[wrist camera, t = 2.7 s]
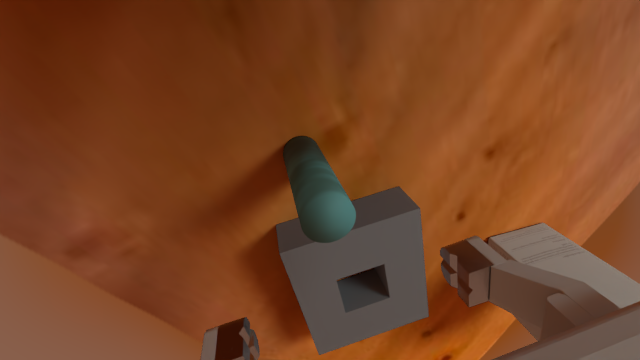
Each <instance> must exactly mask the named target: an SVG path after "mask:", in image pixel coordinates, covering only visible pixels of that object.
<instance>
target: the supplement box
mask: <svg viewBox="0 0 640 360" xmlns="http://www.w3.org/2000/svg"><path fill="white" fill-rule="evenodd" d="M488 245H489V246H490V247H491V248H492V249H494V250H495V251H496V252H497V253H498V254H500V255H501V256H502V257H503V258H504V259H506V260H514V261H517V262H520V263H523V264H527V265H530V266H533V267H536V268H540V269H543V270H546V271H550V272H553V273H556V274H559V275H563V276H566V277H569V278H572V279H576V280H579V281H582V282H585V283H586V284H587V285H589V286H590V287H592V288H593V289H594V290H596V291H597V292H599V293H600V294H601V295H603V296H604V297H606V298H607V299H608V300H610V301H611V302H613V303H614V304H615V305H617V306H618V307H620V308H623V307H626V306H628V305H631V304H633V303H636V302H639V301H640V284H639V283H637V282H636V281H634V280H632V279H631V278H629V277H628V276H626V275H625V274H623V273H621V272H620V271H618V270H617V269H615V268H614V267H612V266H610V265H609V264H607V263H606V262H604V261H603V260H601V259H599V258H598V257H596V256H595V255H593V254H591V253H590V252H588V251H587V250H585V249H583V248H582V247H580V246H579V245H577V244H576V243H574V242H573V241H571V240H569V239H568V238H566V237H565V236H563V235H562V234H560V233H558V232H557V231H555V230H554V229H552V228H551V227H549V226H547V225H546V224H544V223H540V224H537V225H533V226H530V227H526V228H522V229H519V230H515V231H512V232H508V233H504V234H500V235H497V236H493V237H490V238H489V240H488ZM513 315H514V314H513ZM514 316H515V317H516V318H517V320H518V321H519V322H520V323H521V324H522V325H523V326H524V327H525V328H526V329H527V330H528V331H529V332H530V333H531V334H532V335H533V336H534V337H535V338H536V340H537V341H540V336H541V330H542V329H541V328H539V327H537V326H536V325H534V324H532V323H530V322H528V321H526V320H524V319H522V318H520V317H518V316H516V315H514Z"/></svg>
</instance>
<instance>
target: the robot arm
mask: <svg viewBox="0 0 640 360" xmlns="http://www.w3.org/2000/svg"><path fill="white" fill-rule="evenodd" d="M440 255H441V257H442V258H443V261H442V262H441V269H442V272H443V275H444V277H445V279H446V280H447V282H448V283H449V284H450V285H451V286H453V287H455V288H457V289H458V295H459V296H460V297H461V299H462V300H463V301H464V302H465V303H466V304H467V306H468V307H472V306H475V305H478V304H480V303H483V302H486V301H489V302H491V303H493V304H495V305H497V306H499V307H501V308H503V309H505V310H506V311H508V312H510V313H512V314H514V315H516V316H518V317H520V318H522V319H524V320H526V321H528V322H530V323H532V324H534V325H536V326H537V327H539V328H541V329H542V330H541V336H540V341H538V342H535V343H533V344H530V345H528V346H525V347H523V348H520V349H517V350H515V351H512V352H510V353H507V354H505V355H502V356H500V357H497V358H495V359H492V360H640V301H639V302H636V303H633V304H631V305H628V306H626V307H623V308H620V307H618V306H617V305H615V304H614V303H613V302H611V301H610V300H608V299H607V298H606V297H604V296H603V295H601V294H600V293H599V292H597V291H596V290H594V289H593V288H592V287H590V286H589V285H587V284H586V283H585V282H582V281H579V280H576V279H572V278H569V277H566V276H563V275H559V274H556V273H553V272H550V271H546V270H543V269H540V268H536V267H533V266H530V265H527V264H523V263H520V262H517V261H514V260H506V259H504V258H503V257H502V256H501V255H500V254H498V253H497V252H496V251H495V250H494V249H492V248H491V247H490V246H489V245H488V244H486V243H485V242H484V241H483V240H482V239H480V238H479V237H477V236H473V237H470V238H467V239H465V240H462V241H459V242H456V243H453V244H451V245H448V246H445V247H442V248H441V250H440ZM258 358H259V345H258V340H257V337H256V334H255V332H254V330H252V329H250V323H249V321H248V319H247V317H244V318H241V319H238V320H235V321H232V322H229V323H226V324H223V325H220V326H217V327H214V328H211V329H208V330H206V332H205V334H204V340H203V346H202V353H201V359H200V360H258Z"/></svg>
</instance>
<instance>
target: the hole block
mask: <svg viewBox="0 0 640 360" xmlns="http://www.w3.org/2000/svg"><path fill="white" fill-rule="evenodd" d="M351 202H352V204H353V206H354V208H355V211H356V220H355V223H354V226H353V227H352V229H351V230H350V232H349V233H348V234H347V235H345V236H344V237H343V238H341V239H339V240H337V241H334V242H330V243H319V242H315V241H313V240H311V239H309V238H308V237H307V236H306V235H305V234H304V233H303V231H302V228H301V224H300V220H299V218H296V219H293V220H290V221H287V222H284V223H280V224H277V225H276V230H277V238H278V246H279V254H280V256H281V259H282V261H283V264H284V266H285V269H286V271H287V274H288V277H289V279H290V282H291V284H292V287H293V289H294V292H295V294H296V297H297V300H298V302H299V305H300V307H301V310H302V312H303V315H304V317H305V320H306V323H307V325H308V328H309V330H310V333H311V335H312V338H313V340H314V343H315V345H316V348H317V351H318V353H319V355H321V354H324V353H326V352H329V351H332V350H335V349H338V348H341V347H344V346H346V345H349V344H352V343H355V342H358V341H361V340H363V339H366V338H369V337H372V336H375V335H378V334H380V333H383V332H386V331H389V330H392V329H395V328H397V327H400V326H403V325H406V324H409V323H412V322H414V321H417V320H420V319H423V318H426V317H429V314H428V302H427V289H426V277H425V264H424V252H423V239H422V227H421V214H420V208H419V207H418V206H417V205H416V204H415V202H414V201H413V200H412V199H411V198H410V197H409V196H408V195H407V194H406V193H405V192H404V191H403V190H402V189H401V188H400V187H399V186H398V187H395V188H392V189H389V190H385V191H382V192H379V193H376V194H373V195H370V196H366V197H363V198H360V199H357V200H354V201H351ZM374 267H375V269H373V270H370V271H367V272H364V273H361V274H358V275H355V276H352V277H349V278H346V279H343V280H340V281H336V280H338V279H341V278H344V277H347V276H350V275H353V274H356V273H359V272H362V271H365V270H368V269H371V268H374Z"/></svg>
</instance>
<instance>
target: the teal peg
mask: <svg viewBox="0 0 640 360" xmlns="http://www.w3.org/2000/svg"><path fill="white" fill-rule="evenodd" d="M283 157H284V161H285V165H286V169H287V173H288V177H289V181H290V185H291V189H292V193H293V197H294V201H295V205H296V209H297V212H298V216H299V220H300V224H301V228H302V231H303V233H304V234H305V235H306V236H307V237H308V238H309V239H311V240H313V241H315V242H319V243H330V242H334V241H337V240H339V239H341V238H343V237H344V236H345V235H347V234H348V233H349V232H350V230H351V229H352V227H353V226H354V223H355V220H356V211H355V208H354V206H353V204H352V202H351V201H350V199H349V197H348V196H347V194H346V192H345V191H344V189H343V187H342V186H341V184H340V182H339V181H338V179H337V177H336V176H335V174H334V172H333V170H332V169H331V167H330V165H329V164H328V162H327V160H326V159H325V157H324V155H323V154H322V152H321V150H320V149H319V147H318V145H317V144H316V142H315V141H314V140H313V139H311V138H309V137H307V136H297V137H294V138H292V139H291V140H289V141H288V142H287V144H286V145H285V147H284V150H283Z"/></svg>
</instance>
